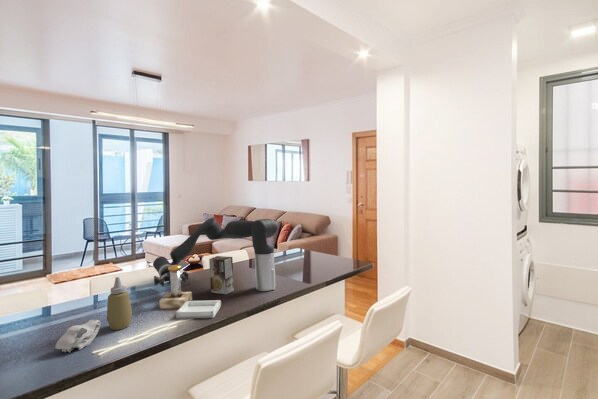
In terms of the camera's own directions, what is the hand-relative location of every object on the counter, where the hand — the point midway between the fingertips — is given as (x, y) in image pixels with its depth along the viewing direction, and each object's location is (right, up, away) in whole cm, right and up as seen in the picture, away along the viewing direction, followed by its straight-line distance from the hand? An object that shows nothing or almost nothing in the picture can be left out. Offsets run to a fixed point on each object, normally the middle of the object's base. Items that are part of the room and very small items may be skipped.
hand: (173, 281), depth 142 cm
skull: (-16, -11, -37) cm, 42 cm away
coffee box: (+18, -8, +14) cm, 24 cm away
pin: (+2, -9, -1) cm, 9 cm away
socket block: (+2, -9, -1) cm, 9 cm away
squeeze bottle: (-10, -11, -23) cm, 28 cm away
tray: (+15, -9, -11) cm, 21 cm away
